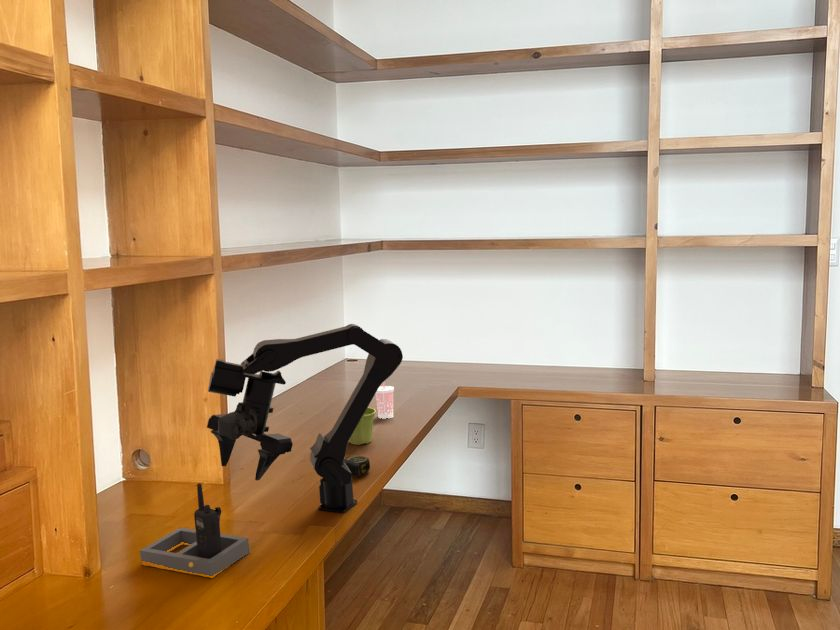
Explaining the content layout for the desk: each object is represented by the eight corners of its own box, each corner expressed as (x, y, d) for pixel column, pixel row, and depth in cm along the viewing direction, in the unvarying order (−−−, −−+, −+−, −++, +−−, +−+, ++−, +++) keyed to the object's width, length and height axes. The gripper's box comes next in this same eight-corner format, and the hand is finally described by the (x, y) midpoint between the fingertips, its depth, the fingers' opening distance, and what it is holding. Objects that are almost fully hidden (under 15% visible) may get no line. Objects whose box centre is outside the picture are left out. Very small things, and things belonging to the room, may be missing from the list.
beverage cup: (396, 413, 243) (394, 369, 242) (394, 419, 237) (391, 374, 236) (377, 414, 244) (374, 370, 242) (374, 419, 238) (371, 374, 236)
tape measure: (336, 475, 190) (335, 460, 190) (356, 467, 196) (355, 452, 195) (356, 480, 186) (355, 465, 186) (376, 472, 191) (375, 457, 191)
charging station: (249, 553, 149) (248, 538, 149) (210, 580, 139) (208, 564, 138) (181, 541, 156) (180, 527, 156) (139, 566, 146) (137, 551, 145)
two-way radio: (195, 560, 147) (187, 483, 144) (216, 552, 150) (209, 476, 147) (210, 568, 143) (202, 490, 140) (231, 560, 146) (224, 483, 144)
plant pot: (382, 437, 219) (380, 407, 218) (371, 447, 210) (369, 416, 209) (351, 436, 222) (349, 406, 221) (338, 446, 213) (336, 415, 212)
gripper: (197, 389, 159) (180, 462, 160) (268, 415, 151) (249, 492, 152) (233, 388, 169) (216, 457, 170) (301, 412, 161) (284, 485, 162)
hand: (240, 473), depth 163 cm, fingers open, 9 cm apart
